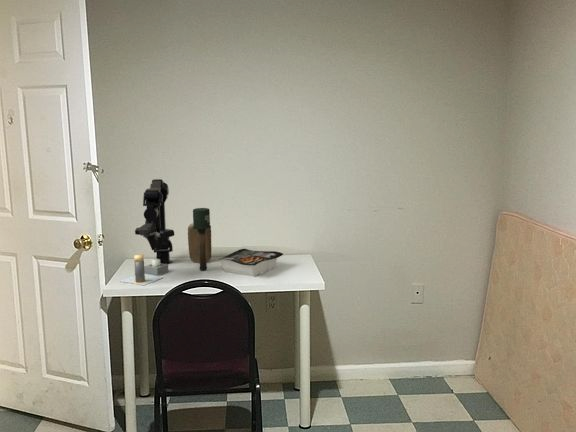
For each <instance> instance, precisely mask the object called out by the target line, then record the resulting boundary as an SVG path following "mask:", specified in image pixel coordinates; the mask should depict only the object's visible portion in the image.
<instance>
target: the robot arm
mask: <svg viewBox="0 0 576 432" xmlns="http://www.w3.org/2000/svg"><path fill="white" fill-rule="evenodd" d="M149 186H150V187H149V188H146V189H145V190H144V192H143V197H142V198H143V199H142V207H146V209H145V210H144V212H143V217H144V219H145V222H144V224H143V225H141V226H140V227H136V228H135V229H134V234H135V235H137V236H139V235H140V236H142V237H143V238H145V239H146V240H147V242H148V244H149V246H150V249H151V250H152V251H153V254H155V253H156V256H155V259H160V263H162V264H168V265H169V264H172V263H173V261H172V260H170V259H171V258H170V253H171V252H173V251H174V250H173V248H174V247H173V243H172V241H171V239H170V238H172V237H174V236H175V231H174V230H173V229H170V228H166V227H167V225H166V205H165V204H166V203H165V202H166V201H167V199H168V197H169V193H170V191H169V190H170V189H169V186H168V184H167V183H166V182H164V180H163V179H160V178H159V179H157V178H155V179H152V180H151V184H150V185H149Z"/></svg>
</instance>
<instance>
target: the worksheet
mask: <svg viewBox="0 0 576 432" xmlns="http://www.w3.org/2000/svg"><path fill="white" fill-rule="evenodd" d="M162 279H163V277H161V276H156V275H150V274H145V282H142V283H137V282H135V275H133V276H130V277H127V278H124V279H122V280H119V282H120V283H126V284H131V285H136V286H137V285H139V286H144V287H145V286H146V285H149V284H151V283H155V282H156V281H159V280H162Z"/></svg>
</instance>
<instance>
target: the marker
mask: <svg viewBox="0 0 576 432" xmlns="http://www.w3.org/2000/svg"><path fill="white" fill-rule="evenodd" d="M133 257H134V261H133V262H134V263H133V264H134V276H135V282H137V283H142V282H145V275H146V274H145V271H144V266H145V260H144V259H145V258H144V254H140V253H139V254H135V255H133Z"/></svg>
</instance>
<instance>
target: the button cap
mask: <svg viewBox="0 0 576 432" xmlns="http://www.w3.org/2000/svg"><path fill="white" fill-rule="evenodd" d="M151 264H152V267H159V266H160V259H156V258H152V259H151Z"/></svg>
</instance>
